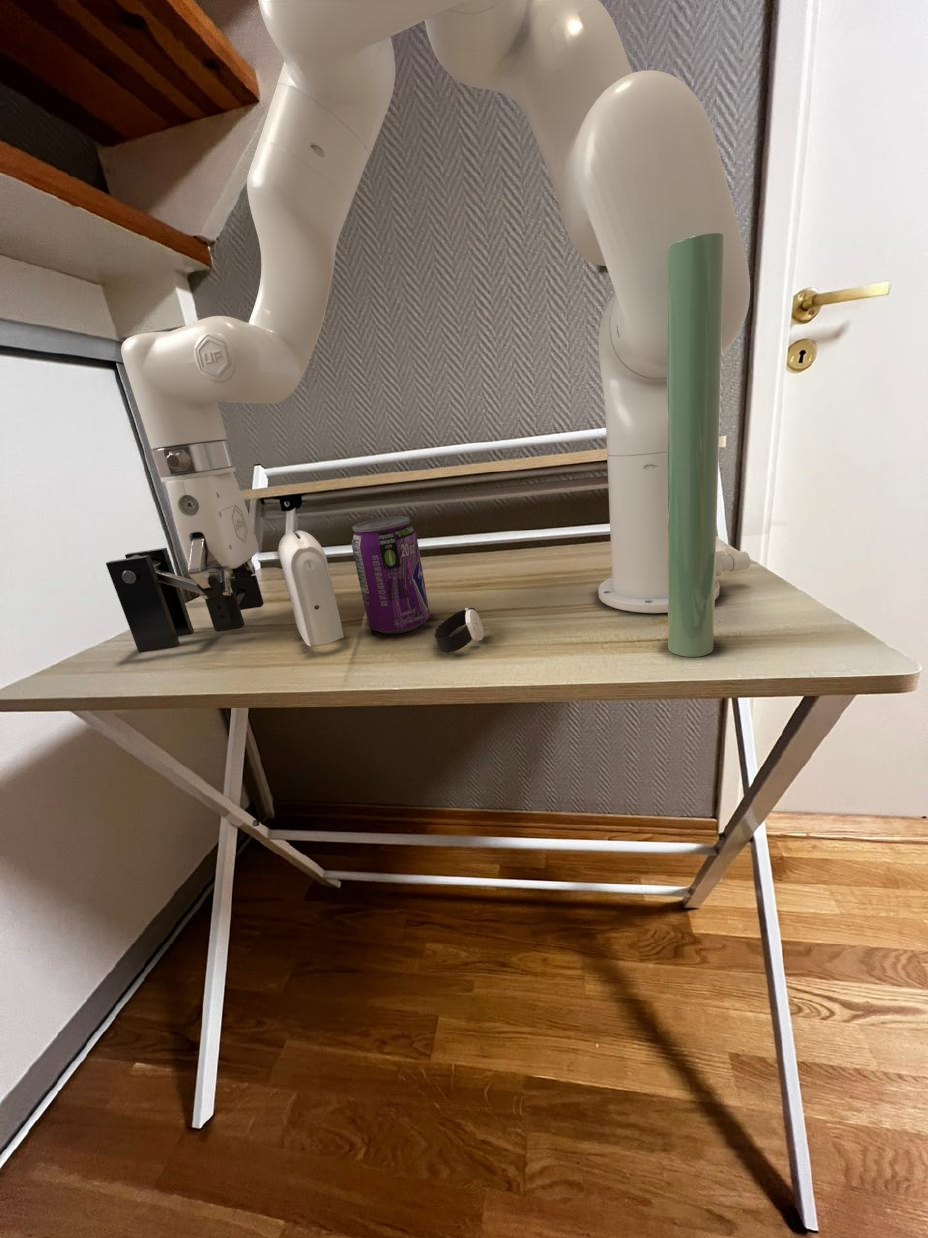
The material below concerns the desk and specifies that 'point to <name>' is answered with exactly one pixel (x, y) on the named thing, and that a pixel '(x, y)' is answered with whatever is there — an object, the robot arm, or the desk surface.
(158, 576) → the lever
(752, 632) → the desk surface
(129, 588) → the bracket
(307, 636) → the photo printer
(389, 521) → the beverage can
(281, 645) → the desk surface
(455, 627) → the watch
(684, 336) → the tall green cylinder
